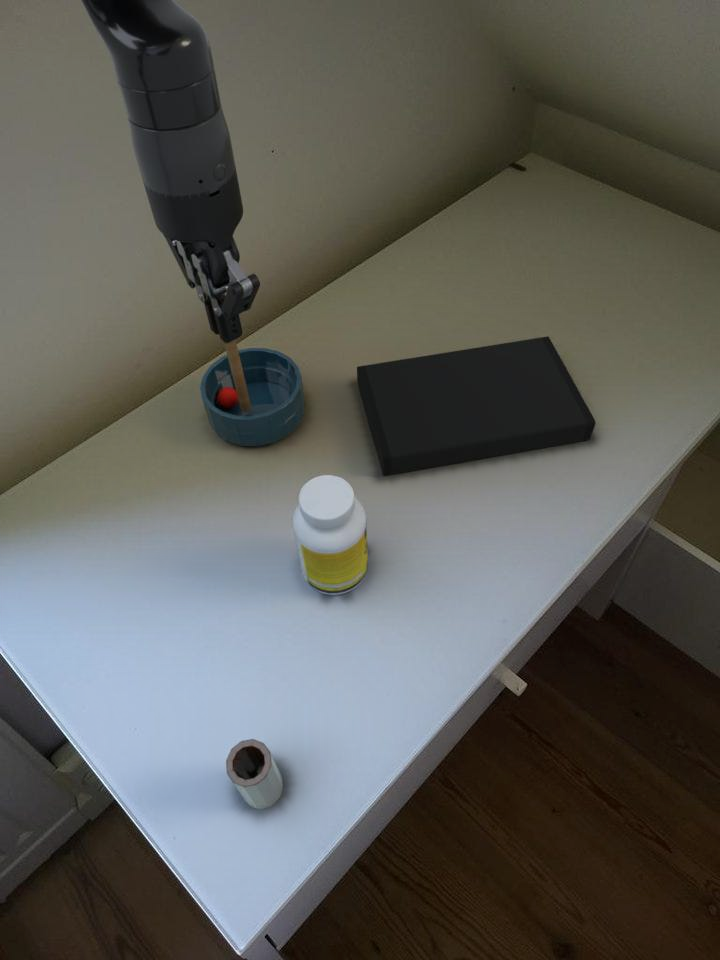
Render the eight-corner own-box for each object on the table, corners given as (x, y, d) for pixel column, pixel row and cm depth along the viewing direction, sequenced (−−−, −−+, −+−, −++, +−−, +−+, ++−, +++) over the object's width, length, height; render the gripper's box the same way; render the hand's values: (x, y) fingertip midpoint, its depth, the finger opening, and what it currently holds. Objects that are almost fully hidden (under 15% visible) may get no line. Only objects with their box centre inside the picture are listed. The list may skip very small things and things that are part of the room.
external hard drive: (357, 384, 82) (356, 365, 79) (543, 354, 84) (548, 335, 81) (383, 476, 73) (383, 459, 71) (590, 440, 75) (596, 422, 73)
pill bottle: (373, 591, 65) (371, 522, 56) (305, 602, 64) (292, 535, 55) (362, 534, 69) (358, 461, 60) (298, 544, 68) (284, 472, 59)
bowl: (281, 460, 75) (275, 429, 71) (192, 435, 77) (182, 404, 74) (319, 391, 81) (316, 360, 77) (236, 370, 84) (229, 339, 80)
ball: (218, 388, 77) (210, 394, 79) (228, 407, 77) (219, 413, 79) (236, 381, 78) (227, 388, 80) (245, 400, 78) (236, 407, 80)
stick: (248, 413, 77) (220, 297, 65) (239, 410, 78) (209, 294, 65) (253, 406, 78) (226, 290, 65) (244, 403, 78) (215, 287, 66)
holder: (272, 815, 53) (259, 793, 48) (235, 800, 54) (218, 776, 49) (289, 774, 55) (278, 748, 50) (253, 760, 56) (238, 733, 50)
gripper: (106, 151, 57) (161, 317, 71) (191, 219, 51) (233, 387, 64) (184, 122, 60) (222, 287, 74) (274, 182, 53) (297, 351, 67)
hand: (227, 333), depth 69 cm, fingers closed on stick, 1 cm apart
